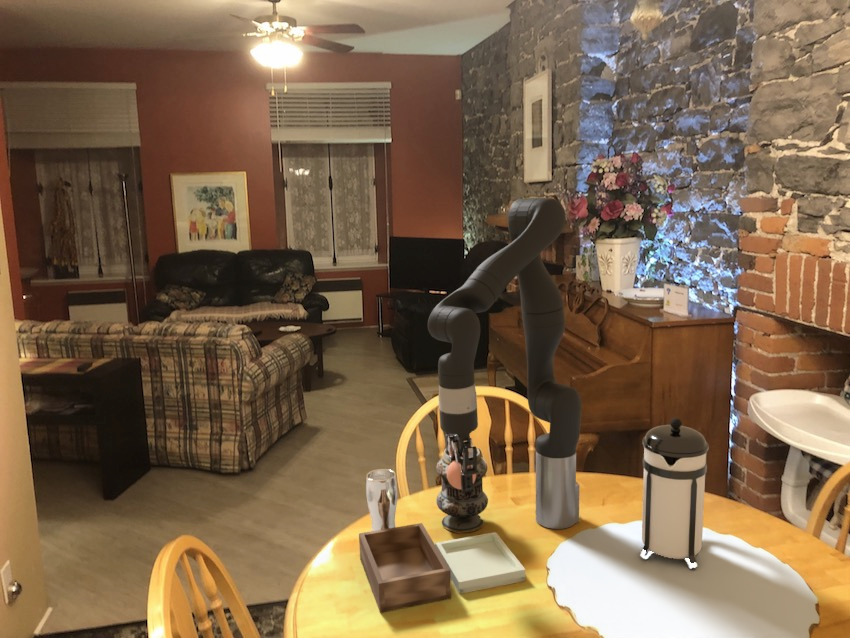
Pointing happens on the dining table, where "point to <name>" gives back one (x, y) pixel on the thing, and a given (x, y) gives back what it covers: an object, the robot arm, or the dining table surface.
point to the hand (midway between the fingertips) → (462, 483)
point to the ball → (456, 475)
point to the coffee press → (673, 490)
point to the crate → (404, 567)
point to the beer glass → (382, 498)
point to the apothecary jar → (462, 499)
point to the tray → (480, 562)
